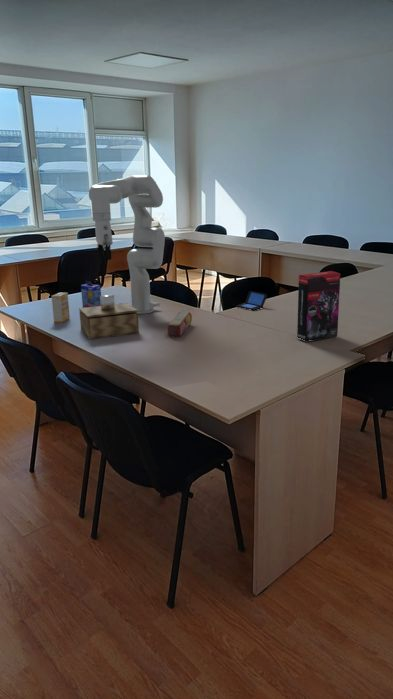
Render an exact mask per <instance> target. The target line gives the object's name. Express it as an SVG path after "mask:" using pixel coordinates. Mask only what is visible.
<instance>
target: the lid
mask: <svg viewBox="0 0 393 699" xmlns="http://www.w3.org/2000/svg"><path fill="white" fill-rule="evenodd" d="M79 311H81V312H82V313H83V314H84V315H85V316H86V317H87V318H89V317H98V316H106V315H115V314H124V313H132V312H138V310H137V309H135V308H134V307H132V305H131V304H128V303H116V304H115V309H114V310H109V311H104V310H101V306H96V307H87V308H83V307H80V308H79Z"/></svg>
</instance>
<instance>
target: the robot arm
mask: <svg viewBox="0 0 393 699" xmlns="http://www.w3.org/2000/svg"><path fill="white" fill-rule="evenodd" d="M88 198H89V200H90V202H91V211H92V213H91V214H92V221H93V222H94V226H95V228H94V229H95V240H96V243H97V245H96V247H97V249H96V250H97V257H100V258H101V257H102V258H103V260H104V261H110V260H112V248H111V245H113V234H112V233H113V232H112V225H111V221H112V214H111V204H112V205H113V204H119V203H120V202H121V201H122V200H123V199H128V202H129V204H130V207H131V210H132V213H133V215H134V216H133V217H134V224H133V231H132V233H133V234H132V243H133V245H134V246H136V247H140V248H132V249H130V250H129V251H128V253H127V255H126V260H127V265H128V270H129V276H130V279H129V280H130V295H131V296H130V297H131V306H132V307H134V308H135V309H137V310H138V312H137V313H138V315H145V314H150V313H153V312H154V311H155V307H157V308H158V307H160V305H161V303H160V302H152V301H151V286H150V284H151V283H150V275H149V273H148V271H147V270H148V269H151V270H153V269H154V270H157V269H160V268H161V267H162V264H163V261H164V260H163V259H164V250H165V241H166V238H165V232H164V230H163V229H162V228H161V227H153V226H152V225H153V223H152V222H153V217H152V216H151V213H150V212H149V210H148V208H151V209H152V208H154V209H157V208H160V207H161V206H162V205H163V203H164V202H163V201H164V196H163V193H162V191H161V189H160V187H159V186H158V184H157V182H156V181H155V179H154V178H153V177H152V176H151V175H148V174H141V175H139V174H137V175H136V174H132V175H128V176H126V177H121V178H119V179H115V180H107V181H103V182H99V183H96V184H92V186H90V188H89V189H88ZM141 247H142V248H141ZM145 247H146V248H145Z"/></svg>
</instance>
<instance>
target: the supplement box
mask: <svg viewBox="0 0 393 699" xmlns="http://www.w3.org/2000/svg"><path fill="white" fill-rule="evenodd" d="M68 294H69V292H57V293H55V294H52V295H51V304H52V305H51V306H52V314H53V323H65V322H67V320H70V318H71V317H70V304H69V303H70V302H69V295H68Z"/></svg>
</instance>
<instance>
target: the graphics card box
mask: <svg viewBox="0 0 393 699" xmlns="http://www.w3.org/2000/svg"><path fill="white" fill-rule="evenodd" d="M340 287H341V273H340V272H336V271H333V270H329V271H322V272H321V271H320V272H313V273H303V274H299V275H298V290H297V291H298V294H297V296H298V297H297V299H298V300H297V303H298V304H297V328H296V329H297V330H296V334H297V335H296V338H297V337H298V338H301V339H303V340H305V341H309V340H315V341H319V340H323V339H330V338H334V337H337V336H338V334H339V333H338V330H339V314H340V311H339V309H340V308H339V307H340V289H341V288H340Z"/></svg>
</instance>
